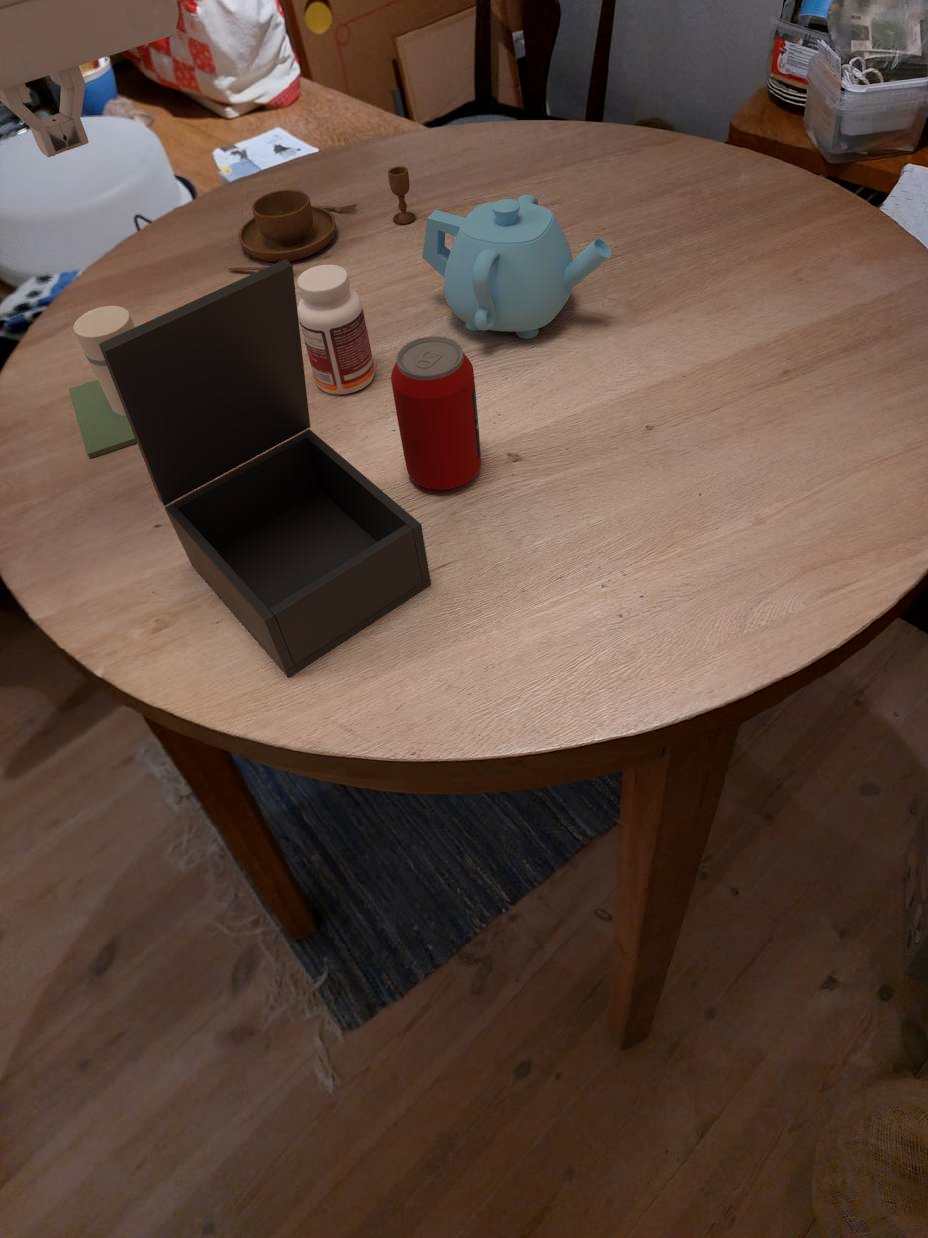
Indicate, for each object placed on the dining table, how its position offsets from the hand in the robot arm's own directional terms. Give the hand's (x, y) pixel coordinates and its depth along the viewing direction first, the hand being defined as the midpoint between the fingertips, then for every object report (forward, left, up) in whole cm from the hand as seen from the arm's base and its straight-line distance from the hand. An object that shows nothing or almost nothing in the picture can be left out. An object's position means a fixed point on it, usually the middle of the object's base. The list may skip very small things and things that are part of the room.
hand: (65, 148), depth 59 cm
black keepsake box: (+5, -18, -29) cm, 34 cm away
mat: (-3, +13, -29) cm, 32 cm away
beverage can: (+20, -12, -29) cm, 37 cm away
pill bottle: (+17, +6, -29) cm, 34 cm away
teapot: (+37, +7, -29) cm, 47 cm away
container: (-3, +13, -28) cm, 31 cm away
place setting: (+24, +34, -29) cm, 51 cm away
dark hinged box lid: (+4, -13, -14) cm, 19 cm away
